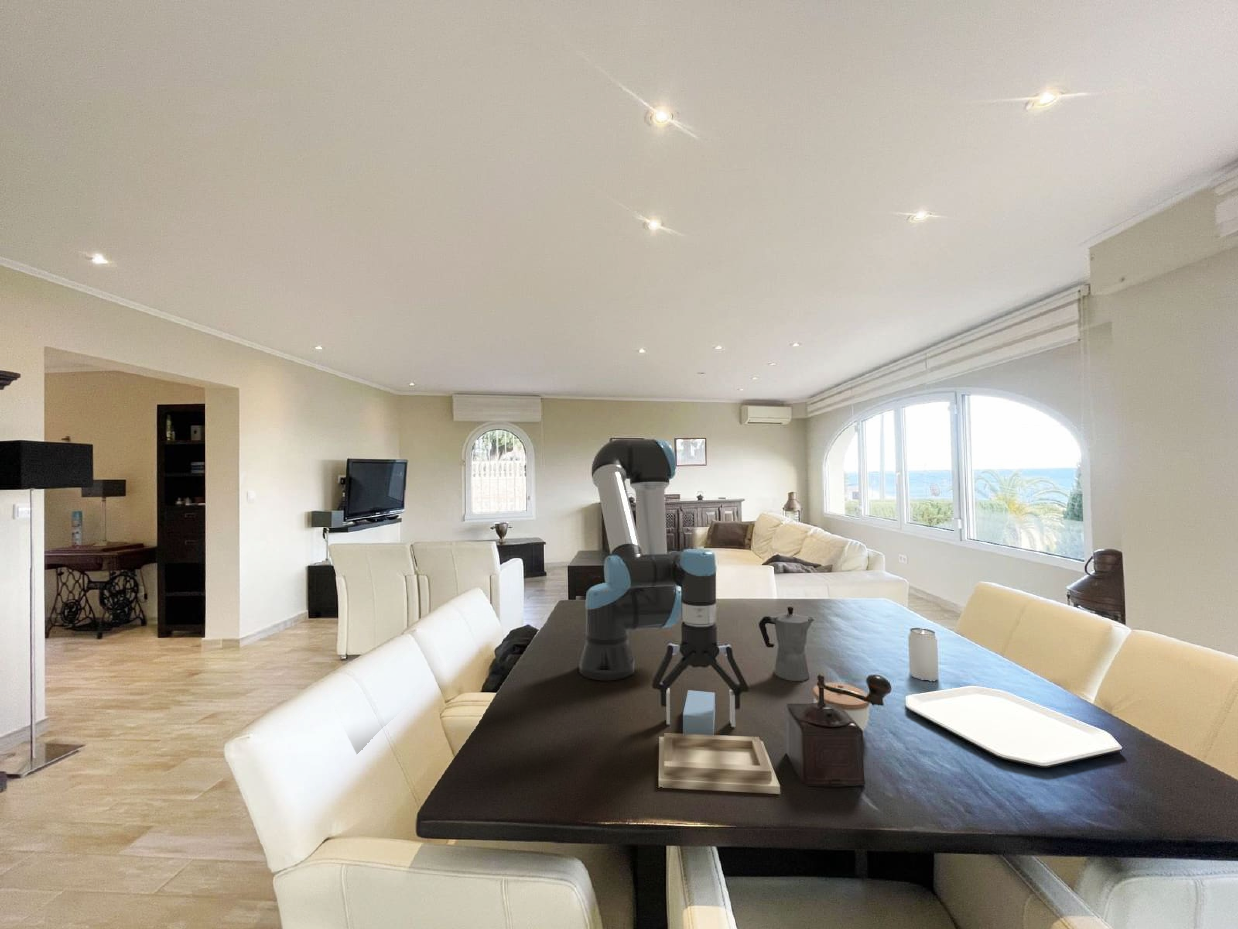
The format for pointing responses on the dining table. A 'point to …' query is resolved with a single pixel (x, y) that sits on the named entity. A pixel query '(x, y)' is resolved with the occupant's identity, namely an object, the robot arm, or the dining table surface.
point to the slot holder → (715, 763)
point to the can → (923, 654)
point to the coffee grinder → (829, 737)
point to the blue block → (699, 713)
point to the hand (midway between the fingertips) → (700, 723)
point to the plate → (1012, 726)
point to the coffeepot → (789, 644)
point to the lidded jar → (846, 702)
